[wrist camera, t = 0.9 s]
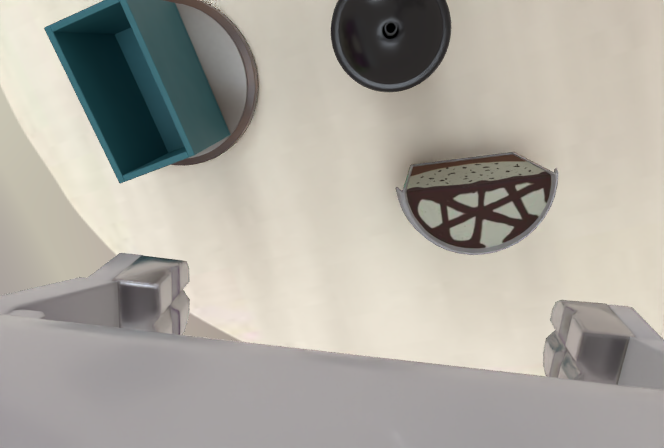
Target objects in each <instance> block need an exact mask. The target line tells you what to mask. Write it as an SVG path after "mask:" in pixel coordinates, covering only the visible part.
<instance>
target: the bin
mask: <svg viewBox="0 0 664 448" xmlns="http://www.w3.org/2000/svg"><path fill="white" fill-rule="evenodd" d="M44 29H45V31H46V33H47V35H48V37H49V39H50V41H51V43H52V45H53V47H54V49H55V52H56V54H57V56H58V58H59V60H60V62H61V64H62V66H63V68H64V70H65V72H66V74H67V76H68V78H69V80H70V82H71V84H72V86H73V88H74V91H75V93H76V95H77V97H78V99H79V101H80V103H81V105H82V107H83V109H84V111H85V113H86V115H87V117H88V119H89V121H90V123H91V125H92V128H93V130H94V132H95V134H96V136H97V138H98V140H99V142H100V144H101V146H102V148H103V150H104V152H105V154H106V156H107V158H108V160H109V162H110V164H111V167H112V169H113V171H114V173H115V175H116V177H117V179H118V181H119V183H123V182H125V181H128V180H131V179H133V178H136V177H139V176H141V175H144V174H147V173H149V172H152V171H154V170H157V169H160V168H162V167H165V166H168V165H170V164H173V163H176V162H178V161H181V160H184V159H186V158H189V157H192V156H194V155H196V154H198V153H200V152H201V151H203V150H205V149H207V148H208V147H210V146H212V145H214V144H215V143H217V142H219V141H221V140H222V139H224V138H226V137H228V136H230V132H229V130H228V127H227V125H226V123H225V120H224V118H223V115H222V113H221V111H220V108H219V106H218V104H217V101H216V99H215V96H214V94H213V92H212V89H211V87H210V85H209V82H208V80H207V78H206V75H205V73H204V70H203V68H202V66H201V63H200V61H199V59H198V56H197V54H196V52H195V49H194V47H193V44H192V42H191V40H190V37H189V35H188V33H187V30H186V28H185V26H184V23H183V21H182V18H181V16H180V14H179V11H178V9H177V7H176V4H175V3H173V2H168V1H163V0H104V1H102V2H100V3H97V4H95V5H93V6H91V7H89V8H86V9H84V10H82V11H80V12H78V13H75V14H73V15H71V16H69V17H67V18H64V19H62V20H60V21H58V22H56V23H53V24H51V25H49V26H47V27H45V28H44Z"/></svg>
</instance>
